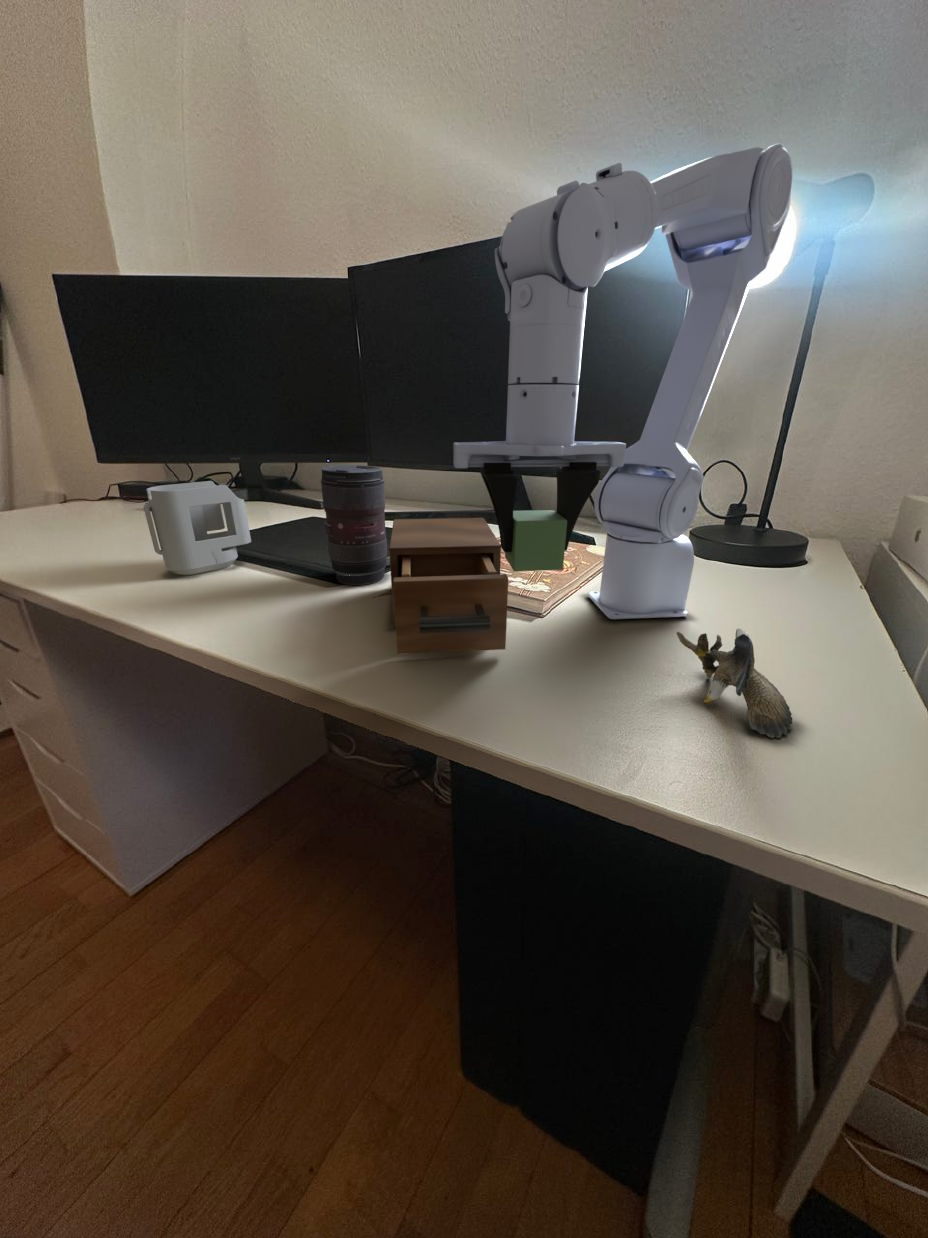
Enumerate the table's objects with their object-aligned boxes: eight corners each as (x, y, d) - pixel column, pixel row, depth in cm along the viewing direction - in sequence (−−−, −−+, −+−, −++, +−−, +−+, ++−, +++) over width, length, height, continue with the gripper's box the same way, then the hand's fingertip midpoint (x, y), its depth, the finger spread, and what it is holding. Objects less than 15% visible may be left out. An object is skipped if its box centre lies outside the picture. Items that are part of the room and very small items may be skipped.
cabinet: (498, 624, 55) (501, 545, 51) (394, 628, 54) (389, 548, 50) (482, 583, 67) (483, 517, 64) (397, 586, 66) (393, 519, 63)
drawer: (514, 672, 44) (517, 595, 41) (395, 677, 43) (391, 599, 40) (487, 601, 59) (488, 542, 56) (400, 604, 58) (396, 544, 55)
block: (549, 555, 48) (553, 509, 46) (563, 570, 44) (567, 520, 42) (504, 557, 48) (506, 510, 46) (513, 571, 44) (516, 521, 42)
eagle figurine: (650, 671, 43) (722, 712, 35) (695, 601, 43) (780, 625, 34) (711, 707, 45) (793, 754, 37) (754, 640, 45) (848, 673, 36)
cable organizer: (257, 563, 75) (243, 483, 71) (168, 582, 67) (145, 493, 63) (240, 554, 80) (225, 478, 75) (154, 571, 72) (132, 487, 67)
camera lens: (371, 590, 65) (362, 473, 59) (319, 583, 67) (305, 469, 61) (400, 572, 72) (394, 465, 66) (352, 566, 74) (342, 462, 68)
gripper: (458, 382, 35) (458, 563, 41) (650, 384, 37) (626, 558, 42) (451, 385, 42) (452, 541, 47) (614, 387, 43) (597, 538, 49)
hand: (533, 548), depth 45 cm, fingers closed on block, 4 cm apart
